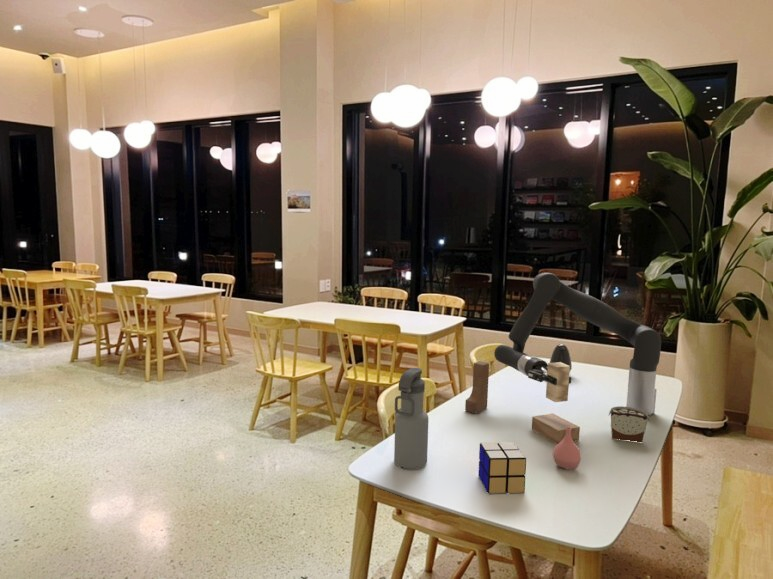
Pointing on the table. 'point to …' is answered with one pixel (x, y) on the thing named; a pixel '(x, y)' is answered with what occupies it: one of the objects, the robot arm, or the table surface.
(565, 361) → the grey egg shape
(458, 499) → the table surface
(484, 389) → the wooden block
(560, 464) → the pink vase
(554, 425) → the base block
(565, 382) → the oak post
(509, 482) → the puzzle cube
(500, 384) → the table surface
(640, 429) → the food container
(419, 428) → the water bottle
